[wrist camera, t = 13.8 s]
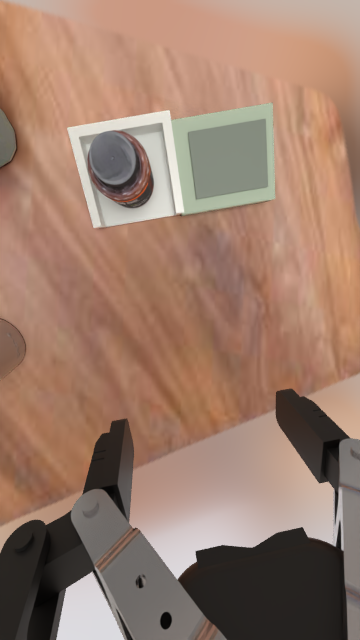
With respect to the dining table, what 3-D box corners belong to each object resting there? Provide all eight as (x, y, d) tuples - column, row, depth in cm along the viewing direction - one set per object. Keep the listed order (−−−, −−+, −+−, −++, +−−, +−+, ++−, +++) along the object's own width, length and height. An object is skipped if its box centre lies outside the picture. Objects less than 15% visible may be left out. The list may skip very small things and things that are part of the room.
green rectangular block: (181, 216, 34) (182, 214, 31) (168, 129, 30) (168, 119, 27) (267, 201, 34) (276, 198, 31) (264, 112, 30) (274, 100, 27)
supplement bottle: (127, 145, 30) (106, 95, 19) (163, 182, 32) (163, 155, 21) (97, 185, 31) (62, 159, 20) (134, 219, 33) (119, 211, 22)
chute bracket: (99, 228, 33) (93, 227, 31) (76, 137, 30) (67, 127, 27) (182, 214, 33) (184, 212, 31) (169, 121, 30) (169, 109, 27)
